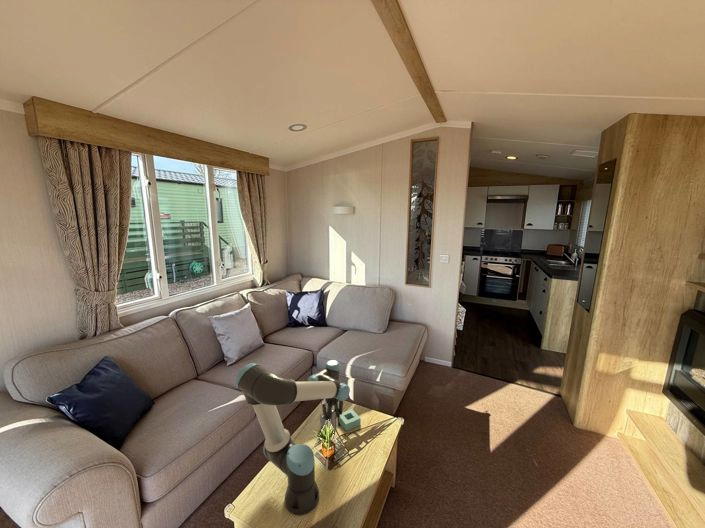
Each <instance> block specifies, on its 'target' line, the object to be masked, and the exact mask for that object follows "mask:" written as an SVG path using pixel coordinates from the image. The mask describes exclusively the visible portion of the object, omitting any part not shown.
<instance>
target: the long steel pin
mask: <svg viewBox="0 0 705 528" xmlns="http://www.w3.org/2000/svg"><path fill="white" fill-rule="evenodd" d="M330 419H331V424H332V426H333V428H334V433H333V434H334V435H335V432H336V433H337V431H336V430H337V428H336V410H335V408H332V409H331V416H330Z"/></svg>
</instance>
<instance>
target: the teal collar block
mask: <svg viewBox="0 0 705 528" xmlns="http://www.w3.org/2000/svg"><path fill="white" fill-rule="evenodd" d="M361 422H362V421H361V417H360V416H359V415H358V413H356V412H355V411H354V409H353V408H350V409H348V410H346V411H342V414H341V415H340V417H339V421H338V424H340V426H341V427H342V429H344V431H345V432H348V431H350V430H352V429H354V428H356V427H359V426H361V424H362V423H361Z"/></svg>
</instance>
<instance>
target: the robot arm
mask: <svg viewBox="0 0 705 528" xmlns="http://www.w3.org/2000/svg"><path fill="white" fill-rule="evenodd" d="M324 367H325V368H323V369H322V370H319V371H317V372H315V373H314V374H312V375H311V376H308V378H307V381H295V380H294V379H292V378H284V377H281V376H280V375H277V374H276V373H274V372H272V371H271V370H269V369H266V368H265V367H263V366H262V365H261V364H259V363H255V362H252V363H248V364H246V365H244V366H243V367H241V368H240V369H239V371H238V372H237V375H236V377H235V385H236V388H237V389H238V390H240V391H241V392H242V393H243V396H244V398H245V400H246V404H248V405H250V406H252V408H253V410H254V412H255V415H256V418H257V420H258V422H259V426H260V427H261V430H262V432H263V436H264V438H265V439H264V442H263V444H264V445H263V446H262V447H263V448H262V449H263V450H262V452H263V454H264V456H265V458H266V459H267V460H268V461H269V462H271V464H273V465H274V466H275V467H277V468H278V469H279V470H280V471H281V472H282V473H283V474H284V475H285V476H286V477H287V487H286V491H285V494H284V506H285V508H286V510H287V511H288V512H289V513H290V514H293V515H295V516H304V515H306V514H309V513H311V512H312V511H313V510H314V509H315V508H316V506H317V505H318V503H319V500H320V490H319V486H318V485H317V484H318V483H317V482H316V479H315V477H316V476H315V473H316V472H315V463H316V462H315V461H316V460H315V455H314V450H313V449H312V448H311V447H310V446H309V445H308V444H305V443H302V444H301V443H295V442H294V440H293V439H292V437H291V434H290V431H289V430H288V429H287V428H284V427H285V426H284V425H283V422H282V419H281V416H280V414H279V411H278V409H277V406H287V405H293V404H294V403H295V402H300V401H302V402H303V401H315V400H323V399H325V400H324V401H321V403H320V405H321V407H322V408H321V410H322V414H323V418H324V419H325V421H327V420H328V419H329V421H330V423H331V419H330V416H331V409H335V410H336V429H338V427H339V422H338V421H339V417H340V415H341V414H342V413H343V409H344V408H343V406H344V401H346V400H347V398H349V397H350V396H349V395H350V392H351V387H350V386H349V385H348V384H346V383H345V382H343V381H340V378H341V373H340V372H341V366H340V362H339V361H337V360H335V359H330V360H327V361H326V363H325V366H324ZM333 407H334V408H333Z"/></svg>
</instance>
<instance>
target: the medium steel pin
mask: <svg viewBox="0 0 705 528" xmlns="http://www.w3.org/2000/svg"><path fill="white" fill-rule="evenodd" d="M324 425H325V426H326V420H325V419H324V418H323V413H321V414H319V431H320V430H321V429H322V428H323V426H324Z"/></svg>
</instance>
